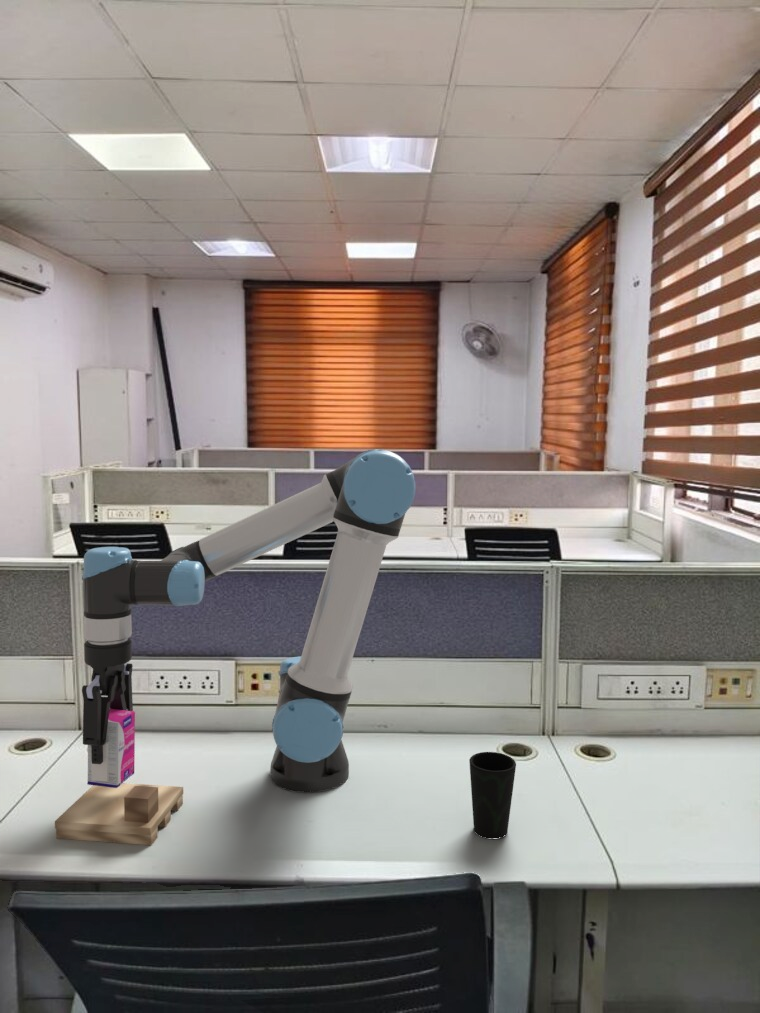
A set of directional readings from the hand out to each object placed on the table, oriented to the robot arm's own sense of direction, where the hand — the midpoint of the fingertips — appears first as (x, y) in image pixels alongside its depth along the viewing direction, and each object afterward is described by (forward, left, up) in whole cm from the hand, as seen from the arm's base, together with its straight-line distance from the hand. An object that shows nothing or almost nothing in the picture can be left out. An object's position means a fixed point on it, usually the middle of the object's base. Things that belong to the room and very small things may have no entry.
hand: (109, 770), depth 126 cm
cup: (-65, -3, -8) cm, 66 cm away
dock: (-3, +2, -8) cm, 8 cm away
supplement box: (0, 0, -2) cm, 2 cm away
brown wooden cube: (-8, +5, -5) cm, 11 cm away
